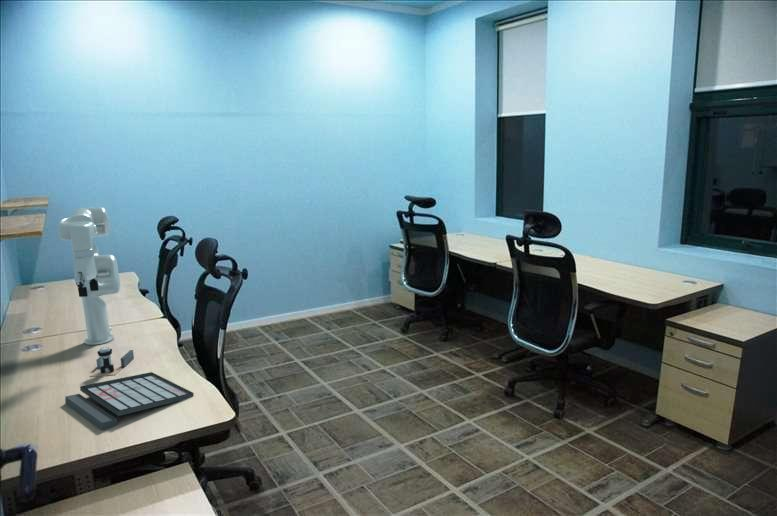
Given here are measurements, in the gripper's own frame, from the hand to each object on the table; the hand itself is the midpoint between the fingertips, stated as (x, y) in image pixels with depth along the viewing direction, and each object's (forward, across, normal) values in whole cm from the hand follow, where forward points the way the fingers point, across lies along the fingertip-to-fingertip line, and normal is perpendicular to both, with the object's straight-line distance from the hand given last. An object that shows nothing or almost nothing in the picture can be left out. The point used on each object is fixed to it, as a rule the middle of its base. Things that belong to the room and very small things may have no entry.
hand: (89, 293), depth 225 cm
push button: (+30, +14, +9) cm, 34 cm away
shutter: (+31, +41, +29) cm, 59 cm away
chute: (+30, +4, +9) cm, 32 cm away
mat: (+30, +14, +9) cm, 34 cm away
